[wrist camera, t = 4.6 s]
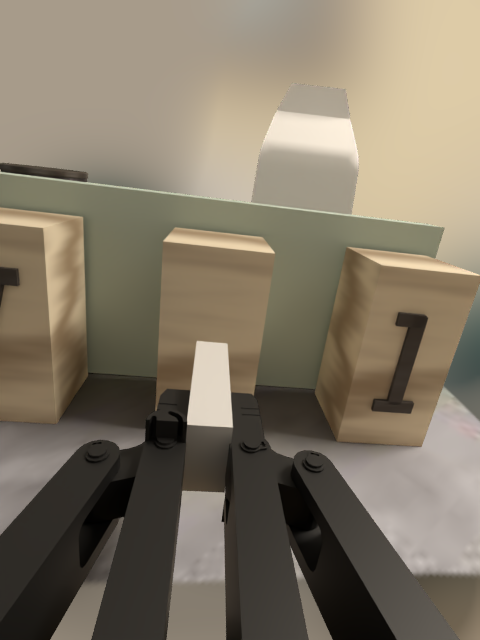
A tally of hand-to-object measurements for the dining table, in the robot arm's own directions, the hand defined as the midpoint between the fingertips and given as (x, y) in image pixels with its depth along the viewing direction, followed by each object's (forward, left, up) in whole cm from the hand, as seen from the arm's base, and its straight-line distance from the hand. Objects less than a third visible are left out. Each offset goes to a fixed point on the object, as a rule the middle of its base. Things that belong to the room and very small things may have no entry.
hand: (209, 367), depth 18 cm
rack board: (+5, +10, -7) cm, 13 cm away
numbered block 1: (+14, 0, -7) cm, 15 cm away
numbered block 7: (-8, +11, -7) cm, 15 cm away
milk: (+22, +23, -7) cm, 32 cm away
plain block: (+3, +6, -7) cm, 9 cm away
